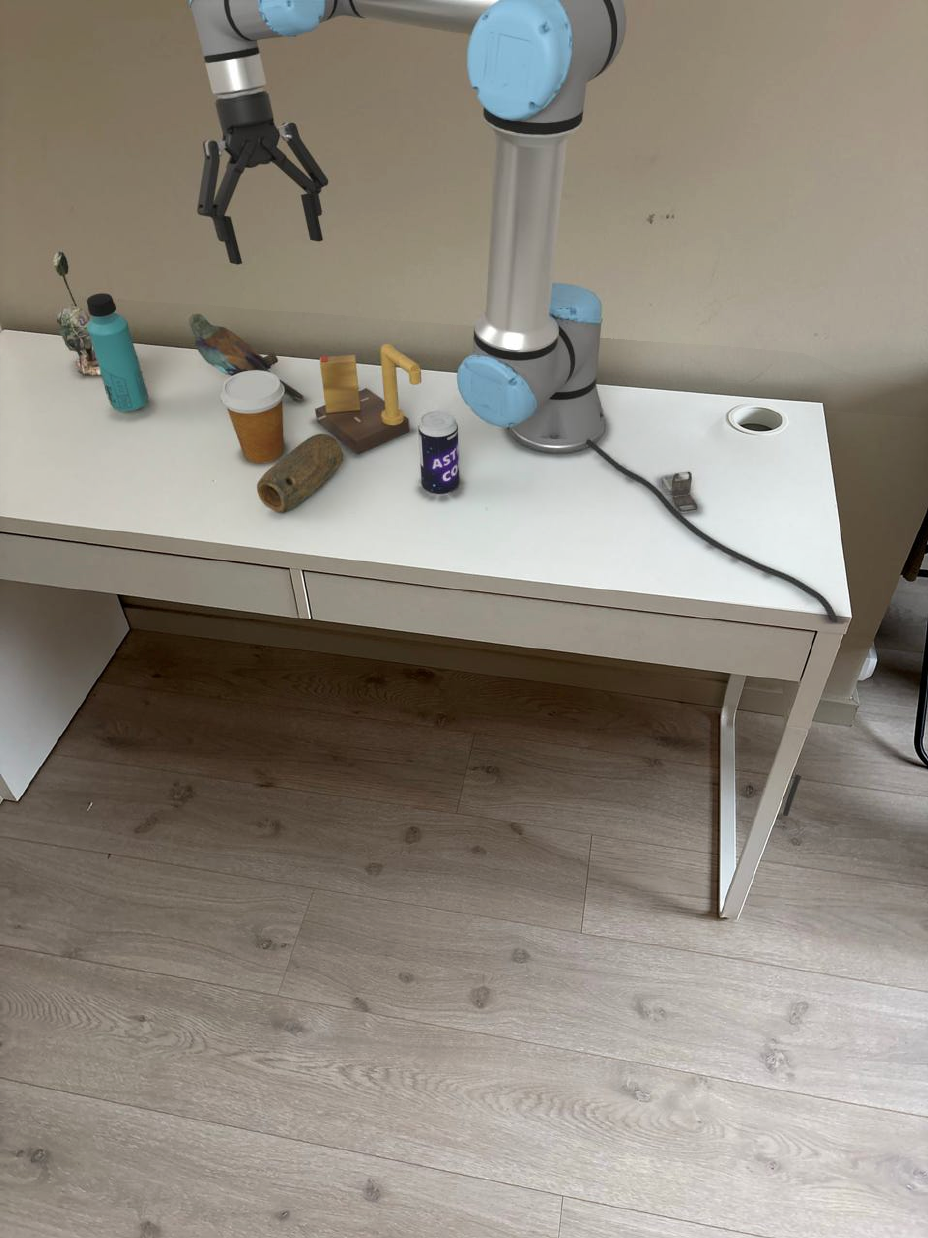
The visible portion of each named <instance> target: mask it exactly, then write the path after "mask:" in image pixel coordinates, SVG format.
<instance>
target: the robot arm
mask: <svg viewBox="0 0 928 1238" xmlns="http://www.w3.org/2000/svg"><path fill="white" fill-rule="evenodd" d="M188 5H189V6H190V8H191V12H192V16H193V19H194V23H195V27H196V33H197V36H198V40H199V43H200V49H201V51H202V55H203V58H204V64H205V68H206V72H207V76H208V80H209V84H210V89H211V93H212V94H213V95H215V96H217V99H215V102H214V106H215V109H216V114H217V117H218V122H219V126H220V129H221V132H222V139H221V140H210V139H205V140H204V141H203V142H202V148H203V155H204V163H203V168H202V174H201V175H202V176H201V180H200V181H201V183H200V187H199V195H198V201H197V209H196V212H197V215H199V216H202V217H209V218H211V219H212V222H213V225H214V229H215V233H216V237H217V240H218V241H219V242H223V243H224V245H225V249H226V252H227V257H228V261H229V263H230V264H233V265H242V264H243V259H242V257H241V253H240V248H239V244H238V240H237V236H236V232H235V228H234V225H233V221H232V217H231V216H229V215H226V213H227V210H228V209H229V206H230V203H231V200H232V198H233V196H234V193H235V190H236V188H237V185H238V183H239V180H240V178H241V175H243V173H244V172H245V169H252V168H257V167H258V166H260V165H269V164H271V163H272V164H274V165H275V166H276V167H277V168H279V169H280V170H281V171H282V172H283V173H284V174H285V175H286V176H287V177H289V178H290V179H291V180H292V181H293V182H294V183H295V184H297V186H299V187H300V188H301V189H302V190H303V191H304V192H305V193H303V194H300V198H301V204H302V207H303V208H302V209H303V212H304V218H305V222H306V226H307V230H308V235H309V240H310V241H314V242H322V241H324V237H323V233H322V229H321V223H320V219H319V217H320V216H322V214H323V209H322V205H321V200H320V195H319V194H321V193H322V188H324V187H327V186H328V184H329V179H328V177H327V176H326V174H325V173H324V171H323V170H322V169H321V167H320V165H319V164H318V163H317V161H316V160H315V158H314V156H313V155H312V154H311V152H310V151H309V149H308V148H307V146H306V145H305V142H303V140H302V138H301V136H300V133H299V129H298V127H297V126H298V125H296V124H297V123H295V122H283V123H282V124H281V125H280V126H278V127H277V126H276V124H275V120H274V112H273V108H272V103H271V98H270V94H269V93H268V92H267V90H264V88H265V87H266V86H267V80H266V75H265V71H264V67H263V62H262V58H261V53H260V52H261V51H260V47H259V45H258V41H259V40H267V39H276V38H284V37H287V38H296V37H297V36H299V35H302V34H306V33H310V32H312V31H314V30H316V29H317V28H318V27H319V25H320V23H324V22H327V21H329V20H333V19H335V18H337V17H341V16H346V17H351V18H352V17H353V18H357V19H358V18H359V19H367V20H368V19H369V20H375V21H381V22H387V23H393V24H399V25H405V26H411V27H419V28H424V29H430V30H435V31H441V32H449V33H455V34H461V35H468V36H470V37H469V41H468V45H467V52H466V67H467V75H468V79H469V80H468V81H469V83H470V86H471V88H472V89H473V90H475V92H476V93H477V95H476V99H477V100H478V101H479V103H480V104H481V105H482V107H483V111H482V112H483V113H482V114H483V115H482V117H483V120H484V122H485V123H486V125H487V126H489V128H490V129H491V130H492V131H493V132H494V149H493V170H492V189H491V190H492V192H491V207H490V209H491V210H490V211H491V212H490V229H489V230H490V231H489V246H488V247H489V249H488V269H487V285H486V302H485V303H486V304H485V305H486V306H485V311H483V312H482V313H480V314H479V315H478V316H477V317H476V319H475V320H474V325H473V338H472V339H473V344H472V352H471V355H468V356H466V357H465V358H464V359H463V361H462V362H461V364H460V365H459V367H458V370H457V374H456V384H457V389H458V391H459V395H460V396H461V399H462V400H463V402H464V403H465V404H466V406H468V407H469V408H470V410H471V411H472V413H473V414H474V415H476V416H477V417H478V418H479V419H480V420H482V421H484V422H485V423H488V424H490V425H492V426H496V427H499V428H508V430H509V433H510V435H511V437H512V438H513V439H514V440H515V441H516V442H517V443H518V444H520V445H521V446H524V447H526V448H527V449H530V450H533V451H535V452H540V453H544V454H545V453H546V454H557V455H558V454H561V455H562V454H572V453H575V452H580V451H583V450H586V449H588V448H591V449H592V450H593V451H594V452H596V453H597V454H598V455H599V456H600V457H602V458H603V459H604V460H605V461H606V462H607V463H608V464H610V465H611V466H612V467H614V468H615V469H616V470H617V471H619V472H621V473H622V474H624V475H625V476H627V477H629V478H631V479H633V480H635V481H636V482H639V483H640V484H641V485H643V486H644V487H646V488H647V489H648V490H650V491H651V493H653V494H654V495H655V496H656V497H657V498H658V500H659V501H660V502H661V503H662V504H663V506H664V507H665V508H666V509H667V511H668V512H669V513H670V514H671V515H672V516H673V517H675V518H676V519H677V520H678V522H680V523H681V524H683V526H684V527H685V528H687V529H688V530H689V531H691V532H692V533H693V534H695V535H696V536H697V537H699V538H700V539H702V540H703V541H704V542H706V543H708V544H709V545H711V546H713V547H714V548H716V549H718V550H719V551H721V552H722V553H725V554H726V555H729V556H730V557H732V558H734V559H736V560H739V561H741V562H743V563H745V564H747V565H749V566H751V567H753V568H755V569H758V570H759V571H762V572H764V573H766V574H769V575H772V576H774V577H777V578H779V579H782V580H783V581H786V582H788V583H790V584H792V585H793V586H795V587H797V588H799V589H800V590H802V591H804V592H805V593H807V594H808V595H810V596H811V597H813V598H814V599H815V600H816V601H818V602H819V603H820V604H821V605H822V607H823V608H824V610H825V612H826V613H827V615H828V617H829V620H830V621H831V622H832V623H838V617H837V615H836V613H835V611H834V608H833V607H832V605H831V604H830V602H829V600H827V599H826V598H825V597H824V596H823V595H822V594H821V593H820V592H818V591H816V590H815V589H814V588H812V587H811V586H808V585H807V584H805V583H804V582H802V581H801V580H799V579H797V578H795V577H793V576H791V575H789V574H787V573H784V572H782V571H779V570H778V569H775V568H772V567H771V566H767V565H764V564H762V563H761V562H758V561H756V560H753V559H752V558H750V557H748V556H746V555H743V554H742V553H739V552H737V551H735V550H734V549H731V548H729V547H727V546H726V545H723V544H722V543H720V542H719V541H717V540H716V539H714V538H712V537H711V536H709V535H708V534H706V533H705V532H703V531H702V530H700V529H699V528H697V526H695V525H694V524H693V523H691V521H689V520H688V519H687V518H686V517H684V516H683V514H682V513H680V512H679V511H678V510H677V509H676V507H675V506H673V504H672V503H671V502H670V501H669V500H668V499H667V497H665V495H664V494H663V493H662V492H661V491H660V489H658V488H657V487H656V486H655V485H654V484H652V483H651V482H650V481H648V480H646V478H644V477H641V476H640V475H638V474H637V473H635V472H633V471H631V470H629V469H627V468H626V467H624V466H623V465H621V464H620V463H618V462H617V461H616V460H615V459H613V458H612V457H611V456H610V455H609V454H608V453H607V452H605V451H604V450H603V449H602V448H601V447H599V446H598V445H597V444H596V443H597V442H598V441H600V440H601V438H602V436H603V434H604V431H605V421H606V420H605V418H606V417H605V413H604V410H603V408H602V402H601V398H600V395H599V391H598V388H597V376H598V367H599V365H598V364H599V355H600V342H601V333H602V324H603V317H602V315H603V314H602V313H603V312H602V311H603V309H602V308H603V307H602V305H603V304H602V301H601V299H600V298H599V296H597V294H596V293H595V292H593V291H592V290H590V289H588V288H587V287H584V286H580V285H576V284H572V283H564V282H553V281H554V271H555V264H556V263H555V262H556V252H557V244H558V243H557V241H558V232H559V223H560V214H561V205H562V204H561V202H562V194H563V184H564V176H565V175H564V174H565V165H566V155H567V147H568V138H569V137H570V136H571V135H573V134H574V133H575V132H576V131H577V130H578V129H579V128H580V127H581V126H582V123H583V115H584V109H585V101H586V100H585V99H586V89H587V83H589V82H591V81H592V80H594V79H596V78H597V77H599V76H600V75H602V74H603V73H604V72H606V71H607V70H608V69H609V67H611V65H612V64H613V63H614V62H615V60H616V59H617V57H618V55H619V54H620V51H621V49H622V47H623V44H624V42H625V37H626V31H627V12H626V8H625V3H624V0H189V3H188ZM280 138H281V139H282V141H284V142H286V144H287V146H288V147H289V149H290V150H291V152H292V153H293V155H294V156H295V158H296V160H297V161H298V162H299V164H300V165H301V166H302V168H303V169H304V171H305V172H306V173H304V171H302V170H301V169H300V168H299V167H298V166H296V164H295V163H294V162H293V161H291V160H290V159H289V158H288V157H287V155H286V154H285V153H284V152H283V151H282V150H281V149H280V148H279V147H278V144H279V141H280ZM223 151H225V152H226V153H227V154H228V155H229V159H228V161H227V163H226V167H225V168H226V169H225V172H224V175H223V177H222V179H221V182H220V186H219V187H218V190H217V192H216V189H217V183H218V182H217V181H218V176H219V170H220V164H221V163H220V161H221V157H222V156H223ZM801 778H802V775H799V774H795V776H794V779H793V781H792V785H791V787H790V790H789V793H788V796H787V798H786V802H785V805H784V809H783V812H782V816H784V817H788V816H789V814H790V811H791V808H792V804H793V801H794V798H795V795H796V792H797V789H798V786H799V785H800V781H801Z"/></svg>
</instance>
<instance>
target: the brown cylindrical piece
mask: <svg viewBox="0 0 928 1238" xmlns="http://www.w3.org/2000/svg"><path fill="white" fill-rule="evenodd" d="M344 457H345V454H344V452H343V448H342V447H341V445H340V443H338V441H337V440H336V439H335V438H334V437H333V436H331V435H329V434H326V433H318V434H313V435H312V436H309V437H308V438H306V439H305V440H304V441H301V443H299V444H298V445H297V446H296V447H294V448H292V450H291V451H289V452H288V453H287V454H286V455H285V456H283V457H282V458H281V459H280V460H278V461H277V462H276V463H275V464H273V465H272V466H271V467H270V468H269V469H267V471H266V472H265V473H264V474H263V475H262V476H261V477H260V479H259V480H258V483H256V492H257V494H258V497H259V499H260V500H261V503H263V504H264V505H265V506H266V507H267V508H269V509H271V510H273V511H275V512H277V513H279V514H281V513H285V512H287V511H289V510H291V509H292V508H294V507H296V506H297V505H299V504H300V503H301V502H303V501H304V500H306V499H307V498H308V497H309V496H310V495H311V494H313V493H314V492H315V491H317V489H318V488H319V487H321V486H322V485H323V484H324V483H325V482H326V481H327V480H328V479H329V478H330V477H331V476H332V475H333V474H334V473H335V472H336V471H337V470H338V468H339V467H340V466H341V464H342V463H343V461H344Z"/></svg>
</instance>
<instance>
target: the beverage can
mask: <svg viewBox="0 0 928 1238" xmlns="http://www.w3.org/2000/svg"><path fill="white" fill-rule="evenodd" d="M417 428H418V429H417V430H418V431H417V432H418V445H419V446H418V447H419V464H420V465H419V466H420V478H421V479H420V481H421V487H422V488H423V490H425V491H426V492H428V493H429V494H431V495H433V496H439V497H442V496H443V497H444V496H448V495H450V494H452V493H453V492H454V491H455V490H456V489H457V488H458V487H459V486H460V451H459V425H458V422H457V421H456V417H455V415H454V414H453V413H452V412H450V411H448V410H445V409H433V410H429V411H427V412H425V413H423V415H422V416H421V417H420V422H419V424H418V427H417Z"/></svg>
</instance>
